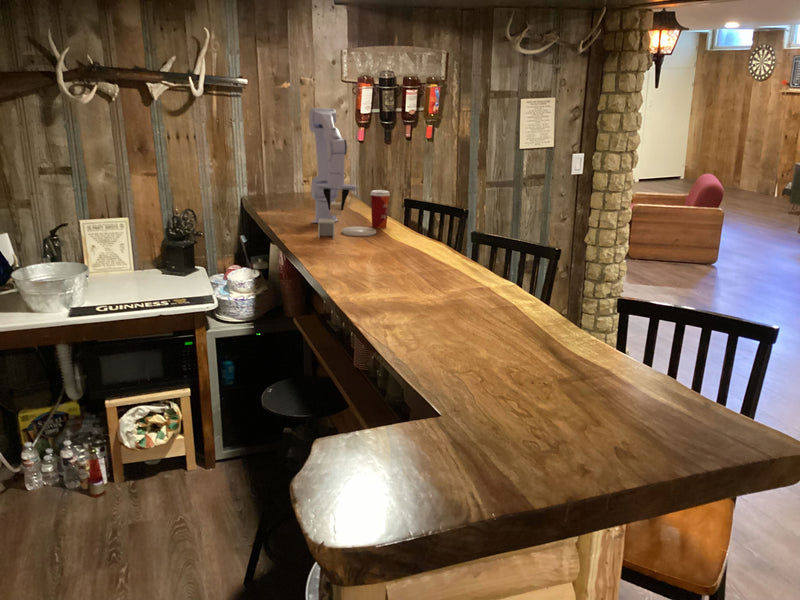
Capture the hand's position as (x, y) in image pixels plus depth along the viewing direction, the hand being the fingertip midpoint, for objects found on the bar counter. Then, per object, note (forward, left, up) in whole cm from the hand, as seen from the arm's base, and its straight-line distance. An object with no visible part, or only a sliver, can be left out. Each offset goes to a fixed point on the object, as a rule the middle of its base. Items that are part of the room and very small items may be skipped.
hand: (336, 209), depth 258 cm
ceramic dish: (-3, +8, -8) cm, 12 cm away
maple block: (0, 0, -2) cm, 2 cm away
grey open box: (+9, 0, -8) cm, 13 cm away
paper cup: (-17, +11, -9) cm, 22 cm away
